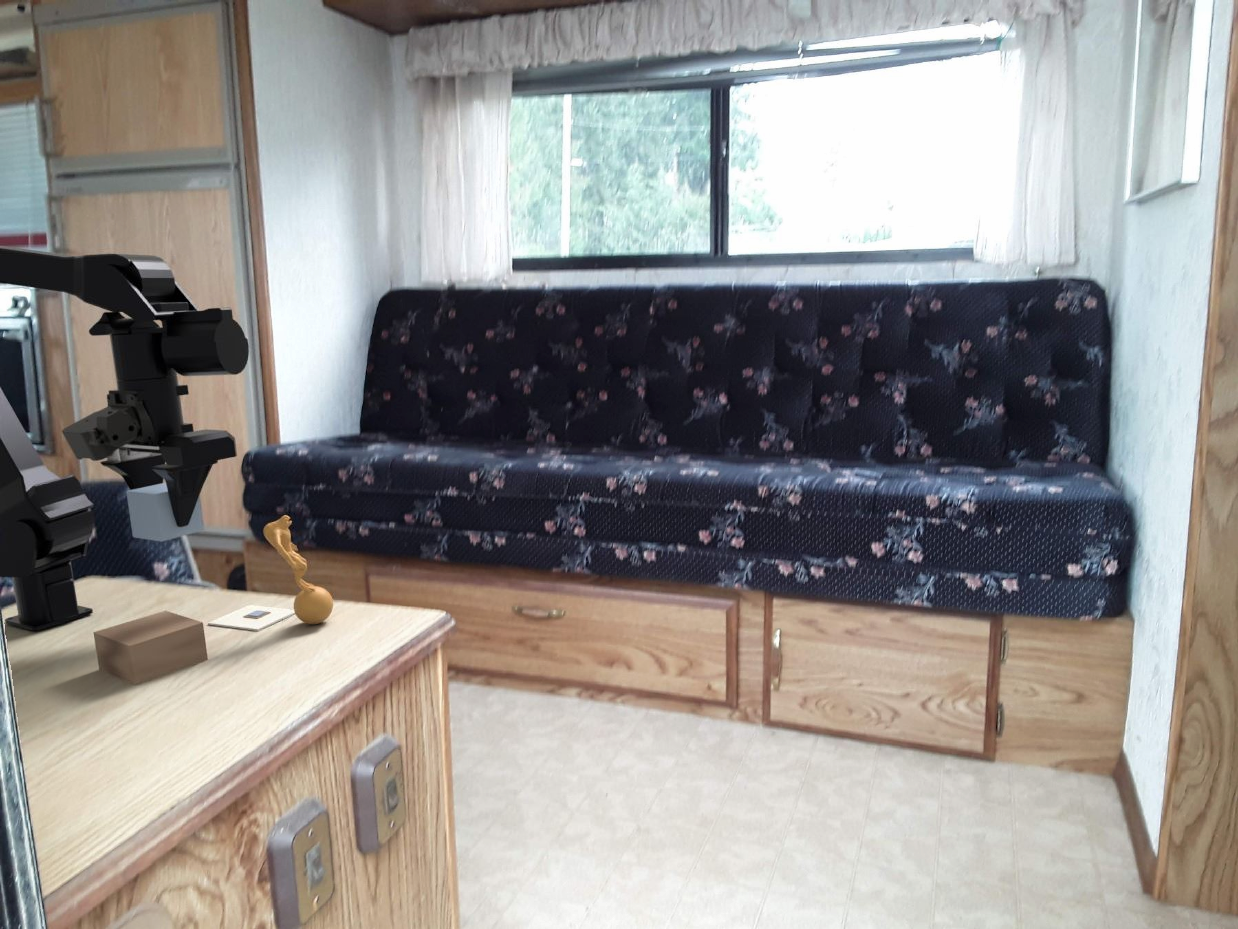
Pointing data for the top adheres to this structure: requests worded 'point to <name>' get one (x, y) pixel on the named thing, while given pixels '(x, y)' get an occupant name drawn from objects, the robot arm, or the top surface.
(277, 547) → the figurine
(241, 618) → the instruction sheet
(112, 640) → the base brick
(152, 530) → the blue brick
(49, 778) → the top surface
